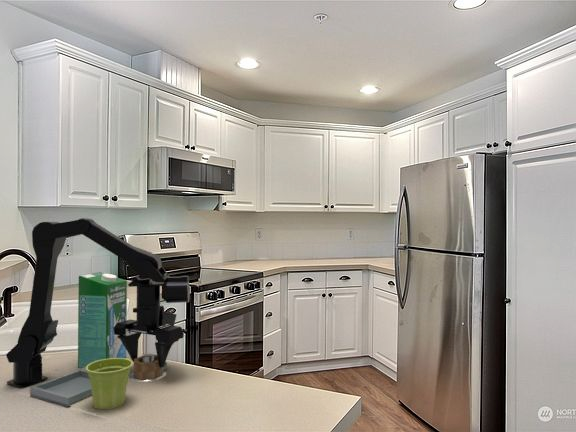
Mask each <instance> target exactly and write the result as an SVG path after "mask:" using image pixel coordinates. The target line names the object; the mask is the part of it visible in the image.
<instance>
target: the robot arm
mask: <svg viewBox="0 0 576 432" xmlns="http://www.w3.org/2000/svg"><path fill="white" fill-rule="evenodd" d="M80 235H83V236H85V237H86V238H87V239H89V240H91V241H93V242H94V243H95V244H97V245H99V246H100V247H102V248H104V249H105V250H107V251H108V252H110V253H112V254H113V255H115V256H117V257H118V258H120V259H121V260H122V261H123V262H125V264H126V265H127V266H128V268H129V269H131V270H132V271H133V272H134V273H135V274H137V275H136V276H134V277H133V279H132V280H131V281H130V282H129V283H127V287H136V307H134V308H132V313H134V314H135V313H136V319H127V320H126V321H122V322H119V323H117V324H116V325H115V327H114V334H115V335H118V338H119V339H120V340H121V342H122V343H123V345H124V346H125V348H126V353H127V354H128V356H129V358H130V360H131V361H133V363H134V359H135V358H138V357H139V339H140V337H141V335H142V334H144V335H149V336H155V340H156V342H154V346H155V351H156V355H157V358H158V363H159V367H160V368H161V367H163V366H164V364H165V362H167V358H168V356H169V352H170V351H171V349H172V346H173V345H174V344H175V343H176V342H178V341H180V340H181V339H184V329H183V328H182V326H178V325H177V326H176V325H175V324H176V320H177V314H176V313H172V312H169V311H165V307H164V305H161V299H162V300H163V301H165V303H167V304H170V303H173V304H175V303H178V304H180V303H190V299H191V298H190V297H191V296H190V295H191V287H190V281H189V275H181V276H170V275H169V274H168V272H167V271H166V270H165V269H164V267H163V264H162V260H161V258H160V256H158V255H157V254H155V253H152V252H151V251H148V250H146V249H142V248H140V247H136V246H134V245H132V244H130V243H129V242H128V241H125V240H124V239H122V238H120V237H119V236H118V235H116V234H114V233H113V232H111V231H109V229H106V228H105V227H103V226H101V225H100V224H98V223H97V222H96V221H94V220H93V219H92V218H83V217H82V218H79V219H76V220H70V221H64V222H63V221H62V222H58V221H42V222H39V223H37V224H36V225H34V226H33V229H32V230H31V238H32V239H31V241H32V248H33V251H34V254H35V258H36V259H35V266H34V274H33V280H32V282H33V283H32V289H31V296H30V297H31V298H30V304H29V310H28V311H29V312H28V315H27V318H26V319H25V322H24V323H23V325H22V327H21V329H20V333H19V335H18V339H17V344H15V346H14V347H13V348H12V349H10V350H9V351H8V352H7V353H6V355H5V356H6V360H7V361H8V363H9V364H10V363H12V364H13V372H12V374H13V375H12V376H13V378H12V379H11V380H7V381H6V384H7V385H10V386H13V387H17V388H21V389H25V388H27V387H31V386H33V385H35V384H36V385H37V384H40V383H42V382H44V381H48V378H49V377H48V376H44V375H43V361H42V360H43V356H42V353H44V352H45V351H46V350H47V347H48V346H49V345H50V344H52V342H53V341H54V338H55V337H57V336H58V333H57V327H58V325H59V319H53V317H52V315H51V314H52V313H51V310H52V302H53V296H54V288H55V280H56V271H57V264H58V258H59V256H60V254H61V252H62V250H63V249H64V247H65V244H66V242H67V241H66V240H67V238H71V237H77V236H80ZM166 325H167V326H166Z"/></svg>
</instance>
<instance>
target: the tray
mask: <svg viewBox="0 0 576 432" xmlns="http://www.w3.org/2000/svg"><path fill="white" fill-rule="evenodd" d="M29 387H30V388H29V396H30V397H31V398H34V399H38V400H41V401H44V402H48V403H51V404H54V405H58V406H61V407H65V408H70V407H72V405H74V404H77V403H79V402H81V401H83V400H86V399H88V398H90V397H92V389H91V382H90V377H89V376H88V372H87V371H86V369H78V370H76V371H73V372H69V373H67V374H64V375H61V376H58V377H56V378H53V379H49V380H46V381H45V382H44V381H43V382H40V383H38V384H36V385H34V386H33V385H32V386H29Z"/></svg>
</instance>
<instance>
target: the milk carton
mask: <svg viewBox="0 0 576 432" xmlns="http://www.w3.org/2000/svg"><path fill="white" fill-rule="evenodd" d="M127 299H128V281H127V280H126V279H123V278H119V277H118V276H117V275H115V274H111V273H104V272H101V271H98V272H93V273H88V274H82V275H78V301H77V302H78V305H77V306H78V312H77V313H78V315H77V317H78V321H77V322H78V323H77V324H78V325H77V327H78V328H77V331H78V332H77V334H78V335H77V367H78V368H86V366H87V365H88V364H90V363H92V362H95V361H98V360H102V359H109V358H126V359H127V350H126V348H125V346H124V345H123V343H122V342H121V340H120V339H119V338H118V335H115V334H114V327H115V325H116V324H117V323H119V322H122V321H126V320H128V319H127V318H128V317H127V316H128V314H127V309H128V307H127V305H128V301H127Z"/></svg>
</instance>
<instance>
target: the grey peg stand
mask: <svg viewBox="0 0 576 432" xmlns="http://www.w3.org/2000/svg"><path fill="white" fill-rule="evenodd" d="M154 355H155V354H154V353H144V354H142V356H143V362H144V363H145V362H153V361H154ZM166 376H167V371H166V370H165V369H164V370H163V375H162V376H160V377H158V378H156V379H151V380H143V381H142V380H137V379H134V372H133V373H132V374H130V376H128V379H130V380H131V381H132V382H133V381H134V382H138V383H147V382H153V381H154V382H155V381H158V380H160V379H162V378H165V377H166Z"/></svg>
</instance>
